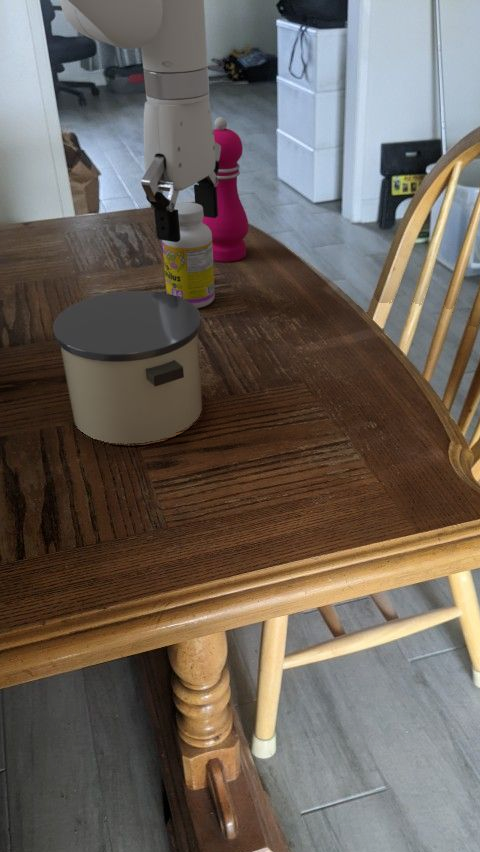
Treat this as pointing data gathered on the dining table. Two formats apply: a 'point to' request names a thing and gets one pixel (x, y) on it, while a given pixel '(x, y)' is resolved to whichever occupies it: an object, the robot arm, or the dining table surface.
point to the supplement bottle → (190, 258)
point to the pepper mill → (228, 199)
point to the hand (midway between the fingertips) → (188, 227)
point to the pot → (131, 365)
